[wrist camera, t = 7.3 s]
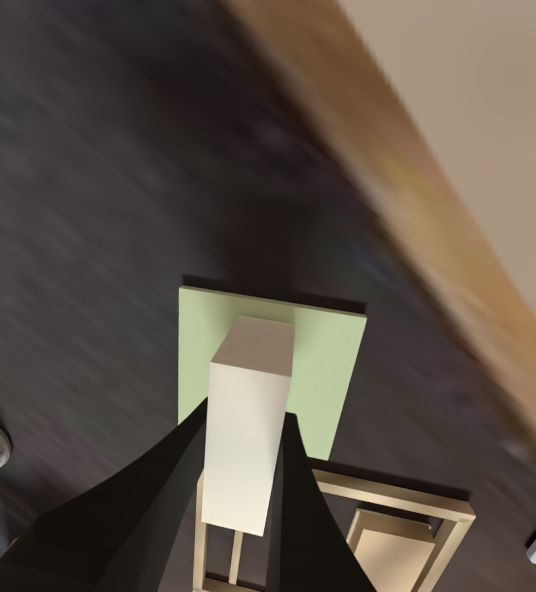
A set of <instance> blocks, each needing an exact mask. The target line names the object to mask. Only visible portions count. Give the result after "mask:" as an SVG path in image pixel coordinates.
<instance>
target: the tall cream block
mask: <svg viewBox="0 0 536 592" xmlns="http://www.w3.org/2000/svg"><path fill="white" fill-rule="evenodd" d="M294 336H295V324H290V323H284V322H278V321H272V320H266V319H261V318H255V317H249V316H243V315H239V316H238V318H237V319H236V321H235V323H234V324H233V326H232V327H231V329H230V331H229V332H228V334H227V336H226V337H225V339H224V340H223V342H222V344H221V345H220V347H219V348H218V350H217V352H216V353H215V355H214V357H213V358H212V360H211V361H210V372H209V390H208V409H207V427H206V445H205V463H204V481H203V499H202V517H201V522H205V523H209V524H213V525H217V526H222V527H226V528H230V529H234V530H238V531H242V532H246V533H251V534H255V535H259V536H263V531H264V526H265V520H266V515H267V509H268V504H269V499H270V493H271V488H272V482H273V477H274V471H275V466H276V460H277V455H278V450H279V444H280V439H281V433H282V428H283V422H284V417H285V411H286V406H287V400H288V395H289V390H290V384H291V379H292V366H293V351H294Z"/></svg>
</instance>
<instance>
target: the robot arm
mask: <svg viewBox="0 0 536 592" xmlns="http://www.w3.org/2000/svg"><path fill="white" fill-rule="evenodd" d="M207 409H208V396H207V397H206V398H205V399H204V400H203V401H202V402H201V403H200V404H199V405H198V406H197V407H196V408H195V409H194V410H193V412H192V413H191V414H190V415H189V416H188V417H186V418H185V419H184V420H183V421H182V422H181V423H180V424H179V425H178V426H177V427H176V428H175V429H174V430H173V431H171V432H170V433H169V434H168V435H167V436H166V437H165V438H163V439H162V440H161V441H160V442H159V443H157V444H156V445H155V446H154V447H152V448H151V449H150V450H149V451H147V452H146V453H145V454H143V455H142V456H141V457H139V458H138V459H137V460H135V461H134V462H132V463H131V464H129V465H128V466H127V467H125V468H124V469H122V470H121V471H119V472H118V473H116V474H115V475H113V476H112V477H110V478H108V479H107V480H105V481H103V482H102V483H100V484H98V485H97V486H95V487H93V488H92V489H90V490H88V491H86V492H85V493H83V494H81V495H79V496H78V497H76V498H74V499H72V500H70V501H68V502H66V503H64V504H62V505H60V506H58V507H56V508H55V509H53V510H51V511H49V512H47V513H45V514H43V515H41V516H38V517H37V519H36V520H35V521H34V522H33V523H32V524H31V525H30V526H29V527H28V528H27V529H26V530H25V531H24V532H23V533H22V534H21V535H20V536H19V537H18V539H17V540H16V541H15V542H14V543H13V544H12V545H11V547H10V548H9V549H8V550H7V551H6V552H5V553H4V555H3V556H2V557H1V558H0V592H157V590H158V587H159V584H160V581H161V578H162V575H163V572H164V569H165V566H166V564H167V561H168V558H169V555H170V552H171V549H172V546H173V543H174V540H175V537H176V535H177V532H178V529H179V526H180V523H181V520H182V518H183V515H184V513H185V510H186V508H187V505H188V503H189V501H190V498H191V496H192V494H193V492H194V489H195V487H196V485H197V483H198V480H199V478H200V476H201V474H202V471H203V469H204V463H205V445H206V427H207ZM526 554H527V556H528V558H529V559H530V561H531V562H532V563H535V564H536V540H535V541H534V542H533V544H532V545H531V546H530V548H529V549H528V550H527V553H526ZM265 592H377V590H376V589H375V587H374V586H373V584H372V583H371V581H370V580H369V578H368V576H367V575H366V573H365V572H364V570H363V569H362V567H361V565H360V564H359V562H358V560H357V559H356V557H355V555H354V554H353V552H352V550H351V549H350V547H349V545H348V543H347V542H346V540H345V538H344V536H343V534H342V532H341V531H340V529H339V527H338V525H337V523H336V522H335V520H334V518H333V516H332V514H331V512H330V510H329V508H328V506H327V504H326V501H325V499H324V497H323V495H322V493H321V490H320V488H319V486H318V483H317V481H316V478H315V476H314V473H313V471H312V468H311V465H310V463H309V460H308V457H307V454H306V450H305V447H304V444H303V441H302V437H301V433H300V429H299V424H298V418H297V415H296V414H295V413H290V412H285V417H284V422H283V428H282V433H281V439H280V444H279V450H278V455H277V460H276V466H275V471H274V477H273V500H272V526H271V540H270V549H269V558H268V568H267V577H266V586H265Z"/></svg>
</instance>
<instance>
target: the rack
mask: <svg viewBox="0 0 536 592" xmlns="http://www.w3.org/2000/svg"><path fill="white" fill-rule="evenodd" d="M312 471H313V473H314V476H315V478H316V481H317V483H318V486H319V488H320V490H321V491H323V492H327V493H332V494H336V495H341V496H345V497H350V498H354V499H359V500H363V501H368V502H372V503H377V504H381V505H386V506H390V507H395V508H399V509H404V510H408V511H413V512H417V513H422V514H426V515H431V516H435V517H440V518H444V521H443V523H442V525H441V526H440V528H439V530H438V532H437V534H436V536H435V537H434V541H435V543H436V544H435V546H434V548H433V550H432V552H431V554H430V556H429V558H428V559H427V561H426V563H425V565H424V567H423V569H422V571H421V573H420V575H419V577H418V578H417V580H416V582H415V584H414V586H413V588H412V590H411V592H431V590H432V588H433V587H434V585H435V583H436V582H437V580H438V579H439V577H440V575H441V574H442V572H443V570H444V569H445V567H446V565H447V564H448V562H449V560H450V559H451V557H452V555H453V554H454V552H455V550H456V549H457V547H458V545H459V544H460V542H461V540H462V539H463V537H464V535H465V534H466V532H467V530H468V529H469V527H470V526H471V524H472V522H473V521H474V519H475V517H476V515H475V513H474V512H473V510H472V508H471V506H470V504H469V503H468V502H465V501H461V500H456V499H451V498H447V497H442V496H437V495H433V494H428V493H423V492H419V491H414V490H409V489H405V488H400V487H396V486H391V485H386V484H382V483H377V482H372V481H368V480H363V479H358V478H354V477H349V476H344V475H340V474H335V473H331V472H326V471H321V470H317V469H312ZM203 481H204V469H203V471H202V474H201V476H200V478H199V480H198V484H197V507H196V530H195V554H194V577H193V592H260V591H256V590H252V589H248V588H244V587H240V586H237V585H236V580H237V574H238V568H239V561H240V554H241V547H242V540H243V533H244V532H242V531H238V530H235V537H234V545H233V553H232V561H231V569H230V577H229V583H231V584H229V583H225V582H221V581H218V580H214V579H210V578H206V577H205V571H206V557H207V542H208V528H209V523H205V522H201V517H202V499H203ZM233 584H235V585H233Z"/></svg>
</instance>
